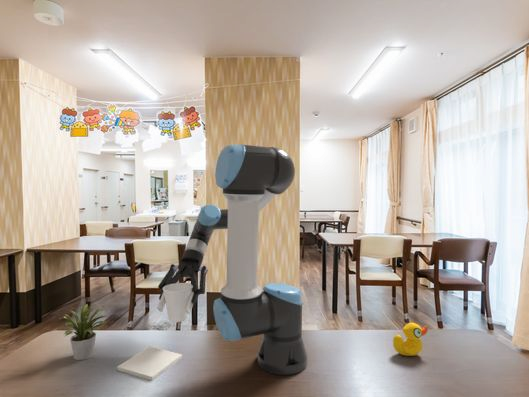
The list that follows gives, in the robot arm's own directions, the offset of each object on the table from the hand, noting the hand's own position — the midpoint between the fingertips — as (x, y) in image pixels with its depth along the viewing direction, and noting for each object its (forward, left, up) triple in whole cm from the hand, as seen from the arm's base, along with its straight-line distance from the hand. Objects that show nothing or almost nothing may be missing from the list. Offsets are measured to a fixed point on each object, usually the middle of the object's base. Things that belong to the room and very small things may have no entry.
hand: (173, 311), depth 105 cm
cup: (0, -3, -4) cm, 5 cm away
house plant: (+22, +16, -13) cm, 30 cm away
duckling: (-72, -27, -13) cm, 78 cm away
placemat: (0, +10, -12) cm, 16 cm away
